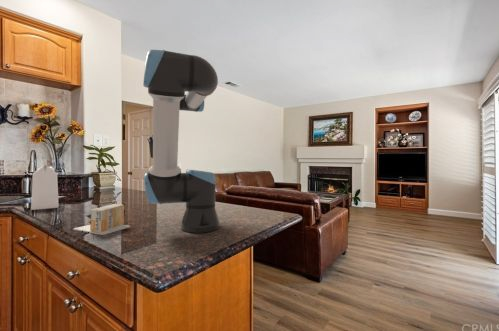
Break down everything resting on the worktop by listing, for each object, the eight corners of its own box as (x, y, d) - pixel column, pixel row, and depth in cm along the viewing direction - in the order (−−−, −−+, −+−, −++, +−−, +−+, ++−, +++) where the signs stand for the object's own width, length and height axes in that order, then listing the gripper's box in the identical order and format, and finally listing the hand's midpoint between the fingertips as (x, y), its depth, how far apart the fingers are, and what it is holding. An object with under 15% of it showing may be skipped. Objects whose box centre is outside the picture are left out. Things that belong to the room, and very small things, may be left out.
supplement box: (124, 223, 104) (101, 233, 91) (114, 222, 105) (89, 231, 92) (125, 204, 104) (101, 210, 91) (114, 203, 105) (90, 209, 92)
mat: (130, 227, 101) (130, 225, 101) (102, 235, 90) (102, 233, 90) (102, 222, 107) (102, 221, 107) (73, 229, 96) (73, 228, 96)
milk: (31, 206, 141) (31, 160, 140) (57, 204, 148) (57, 160, 148) (31, 209, 132) (30, 160, 131) (58, 207, 139) (58, 160, 138)
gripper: (169, 131, 133) (165, 175, 128) (145, 124, 123) (140, 172, 119) (177, 128, 128) (173, 174, 124) (153, 121, 118) (148, 170, 114)
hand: (157, 173), depth 121 cm, fingers closed
